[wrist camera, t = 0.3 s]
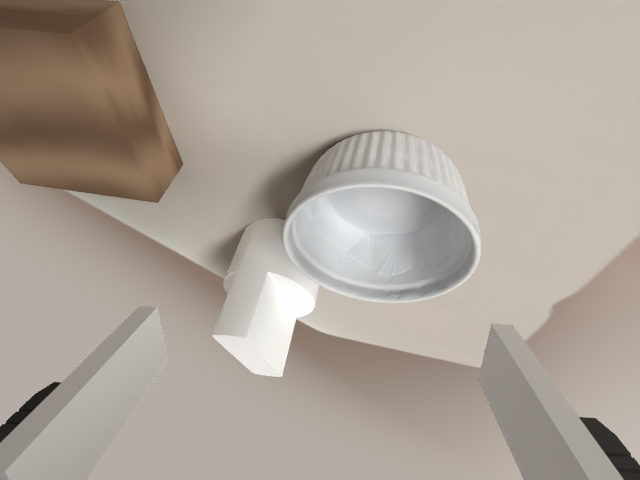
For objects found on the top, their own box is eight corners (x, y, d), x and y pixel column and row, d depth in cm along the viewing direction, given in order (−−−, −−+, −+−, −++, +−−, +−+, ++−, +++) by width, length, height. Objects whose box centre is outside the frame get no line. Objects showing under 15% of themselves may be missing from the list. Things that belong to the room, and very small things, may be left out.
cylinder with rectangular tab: (228, 219, 34) (176, 331, 27) (313, 216, 32) (281, 339, 24) (261, 270, 41) (226, 371, 34) (333, 271, 38) (313, 381, 31)
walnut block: (-54, -14, 21) (-133, 16, 18) (122, -1, 20) (69, 34, 17) (60, 146, 31) (20, 183, 28) (184, 161, 30) (157, 202, 26)
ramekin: (309, 231, 34) (293, 293, 29) (291, 107, 23) (263, 174, 19) (449, 245, 31) (453, 313, 27) (498, 115, 21) (517, 192, 17)
